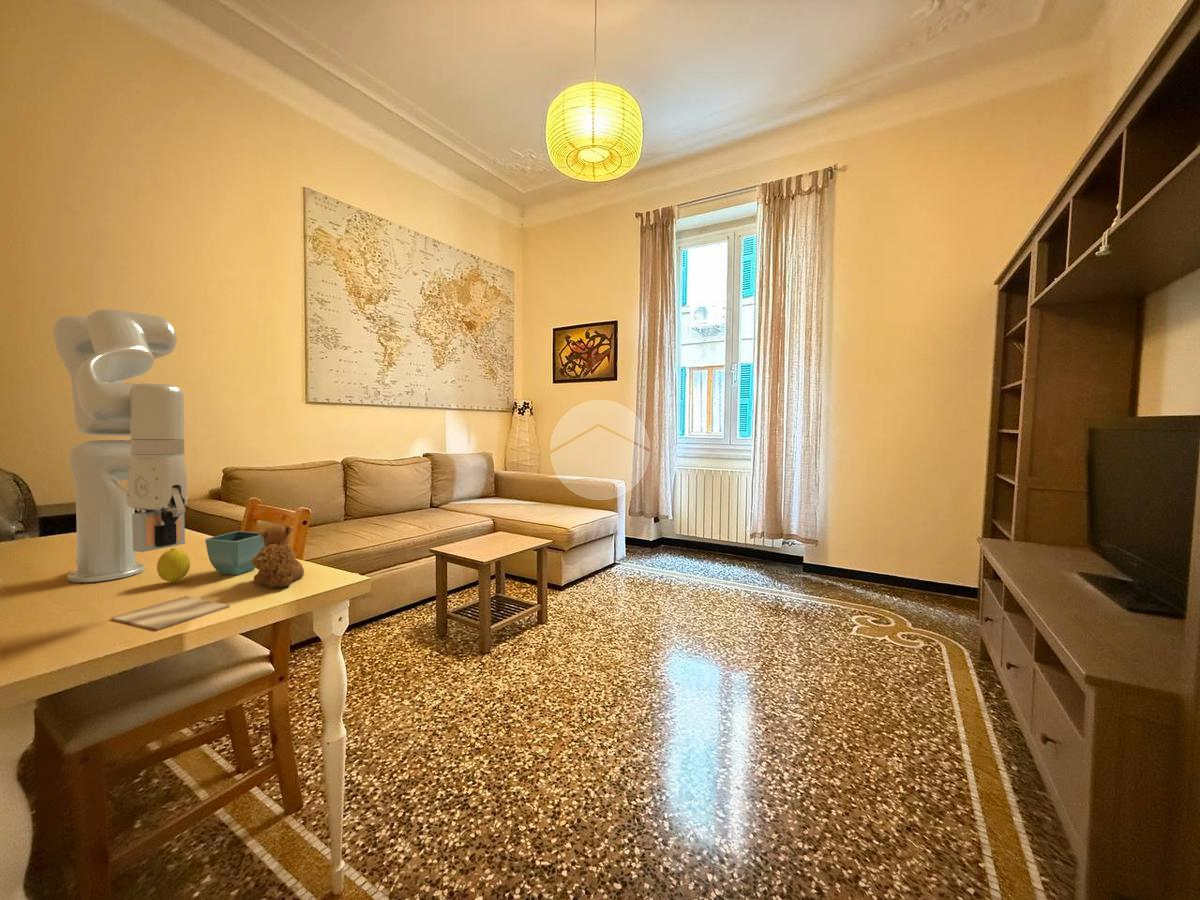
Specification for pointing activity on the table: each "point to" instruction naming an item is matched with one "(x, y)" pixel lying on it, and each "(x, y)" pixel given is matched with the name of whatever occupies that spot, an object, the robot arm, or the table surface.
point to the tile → (152, 531)
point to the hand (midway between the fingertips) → (160, 543)
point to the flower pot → (234, 551)
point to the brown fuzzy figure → (276, 559)
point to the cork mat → (170, 612)
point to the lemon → (173, 565)
